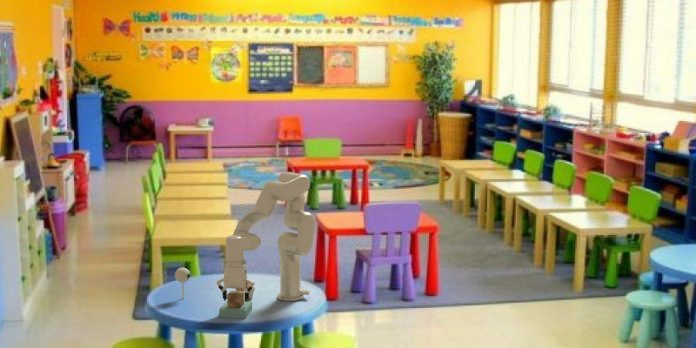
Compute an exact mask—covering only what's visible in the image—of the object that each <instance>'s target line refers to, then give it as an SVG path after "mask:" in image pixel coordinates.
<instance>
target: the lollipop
mask: <svg viewBox="0 0 696 348" xmlns="http://www.w3.org/2000/svg"><path fill="white" fill-rule="evenodd" d="M174 278H175V280H176V281H177V282H178V283H181V284H182V286H181V287H182V289H181V291H182V299H183V300H184V299H185V289H184V288H185V285H184V283H187V282H188V281H189V280H190V278H191V271H190V270H189V269H188V268H186V267H179V268H177V270H176V271H175V272H174Z"/></svg>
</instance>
